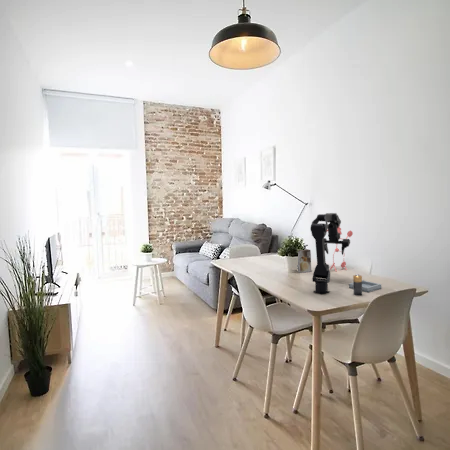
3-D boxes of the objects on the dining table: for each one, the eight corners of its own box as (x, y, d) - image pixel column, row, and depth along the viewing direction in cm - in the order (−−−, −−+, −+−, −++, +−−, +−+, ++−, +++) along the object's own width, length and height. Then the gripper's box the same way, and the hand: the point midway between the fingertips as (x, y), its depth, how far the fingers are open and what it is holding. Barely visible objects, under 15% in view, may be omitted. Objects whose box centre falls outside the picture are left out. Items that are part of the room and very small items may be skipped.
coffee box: (307, 270, 246) (306, 248, 245) (311, 271, 240) (310, 249, 239) (295, 271, 244) (295, 249, 243) (300, 273, 238) (299, 250, 236)
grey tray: (367, 292, 184) (367, 288, 184) (349, 287, 194) (349, 283, 194) (381, 288, 190) (381, 284, 190) (362, 284, 201) (362, 280, 201)
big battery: (358, 295, 178) (358, 275, 177) (351, 294, 182) (351, 274, 181) (363, 294, 181) (363, 274, 180) (357, 292, 184) (356, 273, 184)
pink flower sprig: (356, 269, 242) (355, 221, 240) (327, 273, 233) (325, 223, 231) (342, 265, 256) (340, 220, 254) (314, 269, 247) (312, 223, 245)
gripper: (351, 227, 208) (353, 249, 213) (321, 226, 218) (324, 247, 224) (347, 234, 200) (349, 257, 205) (316, 233, 210) (319, 255, 215)
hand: (335, 254), depth 212 cm, fingers open, 9 cm apart
